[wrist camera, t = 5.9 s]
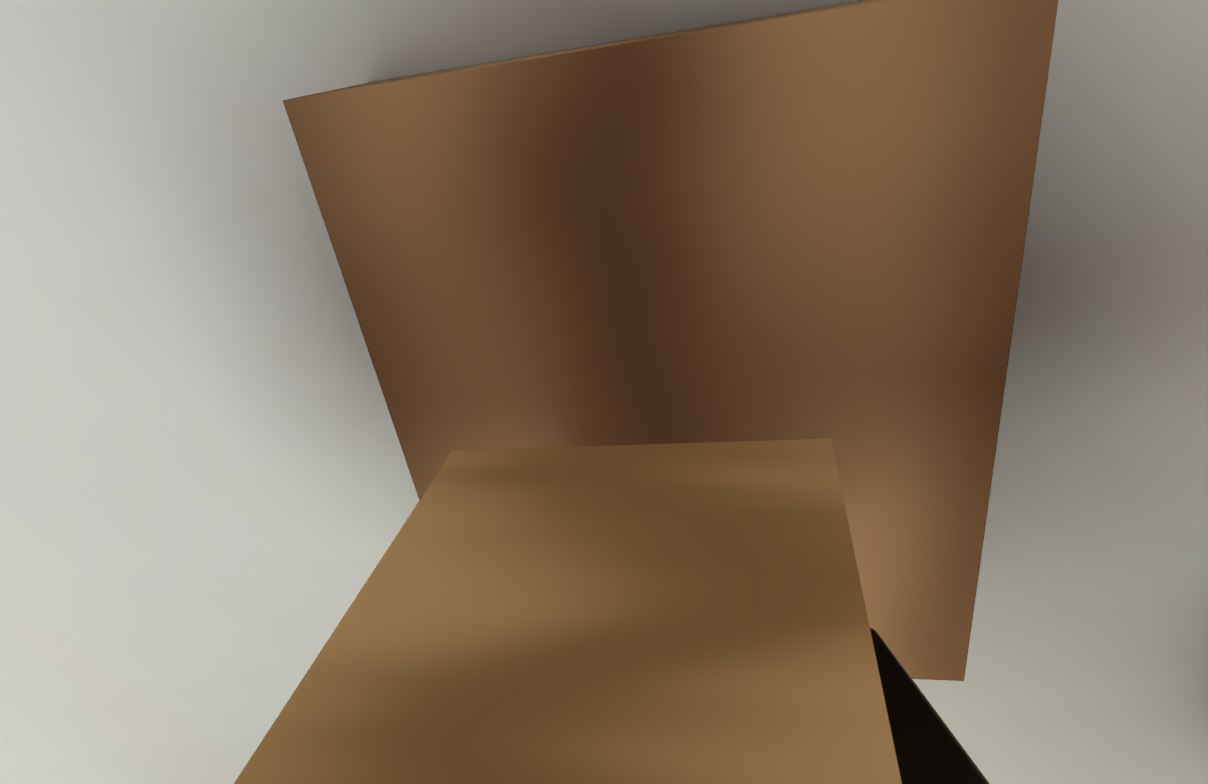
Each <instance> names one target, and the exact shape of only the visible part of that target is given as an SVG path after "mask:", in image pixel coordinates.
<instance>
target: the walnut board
mask: <svg viewBox="0 0 1208 784" xmlns="http://www.w3.org/2000/svg"><path fill="white" fill-rule="evenodd" d="M1057 6H1058V0H865V1H859V2H853V3H847V4H841V5H835V6H829V7H823V8H817V9H811V10H805V11H799V12H793V13H787V14H781V15H775V16H769V17H763V18H757V19H751V20H745V21H739V22H733V23H727V24H721V25H715V26H709V27H703V28H697V29H691V30H685V31H679V32H673V33H667V34H661V35H655V36H649V37H643V38H637V39H631V40H625V41H619V42H613V43H607V44H601V45H595V46H589V47H583V48H577V49H570V50H564V51H558V52H552V53H546V54H540V55H534V56H528V57H522V58H516V59H510V60H504V61H498V62H492V63H486V64H480V65H474V66H468V67H462V68H456V69H450V70H444V71H438V72H432V73H426V74H420V75H414V76H408V77H402V78H396V79H390V80H384V81H378V82H372V83H366V84H361V85H356V86H351V87H346V88H341V89H336V90H332V91H327V92H322V93H317V94H312V95H307V96H302V97H297V98H293V99H288V100H283V103H284V105H285V108H286V111H287V114H288V117H289V120H290V123H291V126H292V129H293V132H294V135H295V138H296V140H297V143H298V146H299V149H300V152H301V155H302V158H303V161H304V164H305V167H306V170H307V173H308V176H309V178H310V181H311V184H312V187H313V190H314V193H315V196H316V199H317V202H318V205H319V208H320V211H321V214H322V216H323V219H324V222H325V225H326V228H327V231H328V234H329V237H330V240H331V243H332V246H333V249H334V252H335V254H336V257H337V260H338V263H339V266H340V269H341V272H342V275H343V278H344V281H345V284H346V287H347V289H348V292H349V295H350V298H351V301H352V304H353V307H354V310H355V313H356V316H357V319H358V322H359V325H360V327H361V330H362V333H363V336H364V339H365V342H366V345H367V348H368V351H369V354H370V357H371V360H372V363H373V365H374V368H375V371H376V374H377V377H378V380H379V383H380V386H381V389H382V392H383V395H384V398H385V401H386V403H387V406H388V409H389V412H390V415H391V418H392V421H393V424H394V427H395V430H396V433H397V436H398V438H399V441H400V444H401V447H402V450H403V453H404V456H405V459H406V462H407V465H408V468H409V471H410V474H411V476H412V479H413V482H414V485H415V488H416V491H417V494H418V497H419V500H420V499H421V498H422V496H423V495H424V493H425V492H426V490H427V489H428V487H429V486H430V484H431V482H432V481H433V479H434V478H435V476H436V475H437V473H438V472H439V470H440V469H441V467H442V466H443V464H444V463H445V461H446V460H447V458H448V457H449V455H450V454H451V452H452V451H453V450H485V449H516V448H548V447H580V446H612V445H643V444H675V443H707V442H738V441H770V440H802V439H831V441H832V446H833V450H834V455H835V460H836V465H837V470H838V475H839V480H840V485H841V489H842V494H843V499H844V504H845V509H846V514H847V519H848V524H849V528H850V533H851V538H852V543H853V548H854V553H855V558H856V563H857V567H858V572H859V577H860V582H861V587H862V592H863V597H864V602H865V606H866V611H867V616H868V621H869V626H870V628H872V629H874V630H875V631H876V632H877V633H878V634H879V635H880V637H881V638H882V639H883V641H884V642H885V644H886V645H887V646H888V648H889V649H890V650H891V652H892V653H893V654H894V656H895V657H896V658H897V660H898V661H899V662H900V664H901V665H902V666H903V668H904V669H905V670H906V672H907V673H908V675H909V676H910V677H911V679H931V680H956V681H964V676H965V669H966V661H967V654H968V647H969V640H970V633H971V625H972V618H973V611H974V604H975V597H976V589H977V582H978V575H979V568H980V561H981V553H982V546H983V539H984V532H985V525H986V517H987V510H988V503H989V496H990V488H991V481H992V474H993V467H994V460H995V452H996V445H997V438H998V431H999V424H1000V416H1001V409H1002V402H1003V395H1004V388H1005V380H1006V373H1007V366H1008V359H1009V352H1010V344H1011V337H1012V330H1013V323H1014V316H1015V308H1016V301H1017V294H1018V287H1019V280H1020V272H1021V265H1022V258H1023V251H1024V243H1025V236H1026V229H1027V222H1028V215H1029V207H1030V200H1031V193H1032V186H1033V179H1034V171H1035V164H1036V157H1037V150H1038V143H1039V135H1040V128H1041V121H1042V114H1043V107H1044V99H1045V92H1046V85H1047V78H1048V71H1049V63H1050V56H1051V49H1052V42H1053V35H1054V27H1055V20H1056V13H1057Z"/></svg>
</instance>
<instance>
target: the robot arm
mask: <svg viewBox="0 0 1208 784" xmlns="http://www.w3.org/2000/svg"><path fill="white" fill-rule="evenodd" d="M870 631H871V636H872V640H873V645H874V650H875V655H876V660H877V665H878V670H879V675H880V679H881V684H882V689H883V694H884V699H885V704H886V709H887V714H888V718H889V723H890V728H891V733H892V738H893V743H894V748H895V753H896V757H897V762H898V767H899V772H900V777H901V782H902V784H989V782H988V781H987V780H986V778H985V777H984V776H983V774H982V773H981V772H980V770H979V769H978V768H977V766H976V765H975V763H974V762H973V761H972V759H971V758H970V757H969V755H968V754H967V753H966V751H965V750H964V749H963V747H962V746H961V745H960V743H959V742H958V741H957V739H956V738H955V737H954V735H953V734H952V732H951V731H950V730H949V728H948V727H947V726H946V724H945V723H944V722H943V720H942V719H941V718H940V716H939V715H938V714H937V712H936V711H935V710H934V708H933V707H932V706H931V704H930V703H929V701H928V700H927V699H926V697H925V696H924V695H923V693H922V692H921V691H920V689H919V688H918V687H917V685H916V684H915V683H914V681H913V680H912V679H911V677H910V676H909V675H908V673H907V672H906V670H905V669H904V668H903V666H902V665H901V664H900V662H899V661H898V660H897V658H896V657H895V656H894V654H893V653H892V652H891V650H890V649H889V648H888V646H887V645H886V644H885V642H884V641H883V639H882V638H881V637H880V635H879V634H878V633H877V632H876V631H875V630H874V629H872V628H870Z"/></svg>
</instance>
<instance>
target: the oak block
mask: <svg viewBox="0 0 1208 784" xmlns="http://www.w3.org/2000/svg"><path fill="white" fill-rule="evenodd" d="M234 784H902V782H901V777H900V772H899V767H898V762H897V757H896V753H895V748H894V743H893V738H892V733H891V728H890V723H889V718H888V714H887V709H886V704H885V699H884V694H883V689H882V684H881V679H880V675H879V670H878V665H877V660H876V655H875V650H874V645H873V640H872V636H871V631H870V626H869V621H868V616H867V611H866V606H865V602H864V597H863V592H862V587H861V582H860V577H859V572H858V567H857V563H856V558H855V553H854V548H853V543H852V538H851V533H850V528H849V524H848V519H847V514H846V509H845V504H844V499H843V494H842V489H841V485H840V480H839V475H838V470H837V465H836V460H835V455H834V450H833V446H832V441H831V439H802V440H770V441H738V442H707V443H675V444H643V445H612V446H580V447H548V448H516V449H485V450H453V451H452V452H451V454H450V455H449V457H448V458H447V460H446V461H445V463H444V464H443V466H442V467H441V469H440V470H439V472H438V473H437V475H436V476H435V478H434V479H433V481H432V482H431V484H430V486H429V487H428V489H427V490H426V492H425V493H424V495H423V496H422V498H421V499H420V501H419V502H418V504H417V505H416V507H415V508H414V510H413V511H412V513H411V515H410V516H409V518H408V519H407V521H406V522H405V524H404V525H403V527H402V528H401V530H400V531H399V533H398V534H397V536H396V537H395V539H394V540H393V542H392V543H391V545H390V547H389V548H388V550H387V551H386V553H385V554H384V556H383V557H382V559H381V560H380V562H379V563H378V565H377V566H376V568H375V569H374V571H373V572H372V574H371V576H370V577H369V579H368V580H367V582H366V583H365V585H364V586H363V588H362V589H361V591H360V592H359V594H358V595H357V597H356V598H355V600H354V601H353V603H352V604H351V606H350V608H349V609H348V611H347V612H346V614H345V615H344V617H343V618H342V620H341V621H340V623H339V624H338V626H337V627H336V629H335V630H334V632H333V633H332V635H331V637H330V638H329V640H328V641H327V643H326V644H325V646H324V647H323V649H322V650H321V652H320V653H319V655H318V656H317V658H316V659H315V661H314V662H313V664H312V665H311V667H310V669H309V670H308V672H307V673H306V675H305V676H304V678H303V679H302V681H301V682H300V684H299V685H298V687H297V688H296V690H295V691H294V693H293V694H292V696H291V698H290V699H289V701H288V702H287V704H286V705H285V707H284V708H283V710H282V711H281V713H280V714H279V716H278V717H277V719H276V720H275V722H274V723H273V725H272V727H271V728H270V730H269V731H268V733H267V734H266V736H265V737H264V739H263V740H262V742H261V743H260V745H259V746H258V748H257V749H256V751H255V752H254V754H253V755H252V757H251V759H250V760H249V762H248V763H247V765H246V766H245V768H244V769H243V771H242V772H241V774H240V775H239V777H238V778H237V780H236V781H235V783H234Z"/></svg>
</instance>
